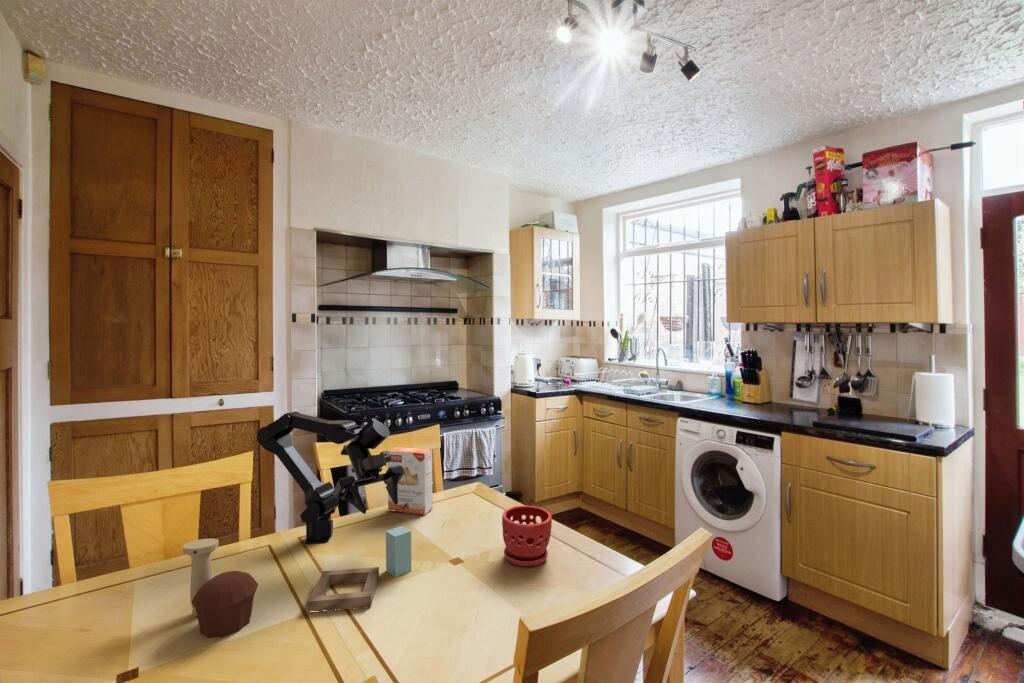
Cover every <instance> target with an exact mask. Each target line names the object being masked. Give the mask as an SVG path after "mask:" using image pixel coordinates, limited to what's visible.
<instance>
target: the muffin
mask: <svg viewBox="0 0 1024 683" xmlns="http://www.w3.org/2000/svg"><path fill="white" fill-rule="evenodd" d="M258 586H259V582H257V580H256V579H255V578H254V576H252V575H251V574H250V573H249V572H246V571H241V570H229V571H226V572H222V573H219V574H217V575H215V576H212V579H210V580H209V581H207V582H206V583H205V584H203V585H202V586H201V588H200V589H199V590H198V592H197V593H196V595H195V597H194V598H193V600H192V602H191V601H190V604H191V603H192V604H193V606H194V607H195V609H196V613H197V622H198V627H199V631H200V635H203V636H205V637H206V639H213V638H225V637H227V636H229V635H232V634H235V633H238V632H240V631H241V630H242V629H243V628H244V627H246V626H248V625H249V624H250V623H251V617H252V611H253V607H254V606H253V604H254V597H255V594H256V592H257V590H258Z"/></svg>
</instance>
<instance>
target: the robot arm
mask: <svg viewBox="0 0 1024 683" xmlns="http://www.w3.org/2000/svg"><path fill="white" fill-rule="evenodd" d="M296 429H297V430H302V431H305V432H308V433H312V434H318V435H321V436H323V437H324V438H325V439H326V440H327V441H329V442H332V443H334V444H336V445H341V444H344V443H348V442H349V443H348V444H347V445H346V444H345V445H343V447H342V450H340V451H341V452H340V456H348V459H349V461H350V464H351V466H352V468H351V472H352V474H353V473H354V474H355V476H356V478H355V476H353V475H349V476H344V477H340V478H339V479H338V480H337V482H336V484H335V486H334V485H333V484H332V483H331V482H330V481H327V482H326V483H324V482H321V481H320V480H319V478H318V477H317V476H316V475H315V474H314V472H313V471H312V469H311V468H310V467H309V465H308V464H307V463H306V461H305V460H304V458H303V457H302V456H301V455H300V454H299V452H298V451H297V450H296V448H295V447H294V445H293V441H292V439H293V438H292V434H291V433H292V432H293V431H295V430H296ZM390 434H391V433H390V430H389V427H388V426H387V425H386V424H384V423H383V422H381V421H378V420H377V418H376V417H375V418H371V419H369V420H368V422H366V424H365V425H364V426H361V425H359V424H357V423H356V422H355V421H353V420H352V419H351V420H345V419H344V420H343V419H339V420H331V419H330V420H329V419H324V418H323V417H322V418H321V417H316V416H313V415H308V414H304V413H301V412H298V411H291V412H285V413H283V415H281V416H280V417H278V419H276V420H274V421H272V422H271V423H269V424H267V425H266V426H263V427H260V428H259V429H258V431H257V434H256V442H257V443H258V444H259V445H260V446H261V447H262V448H263V449H264V451H266V452H269V453H271V454H273V455H275V456H277V458H278V459H279V461H280V462H281V464H283V466H284V467H285V469H286V470H287V472H288V473H289V474H290V476H291V477H292V478H293V479H294V481H295V482H296V484H297V485H298V486H299V487H300V489H301V490H302V491H303V493H304V503H305V506H306V508H305V509H304V511H302V512H301V514H300V519H301V522H302V523H305V531H306V532H305V537H306V538H305V540H304V542H303V543H304V544H317V543H318V544H319V543H327V542H329V541H330V539H331V538H332V536H333V535H334V520H333V519H332V515H333V514H335V513H336V509H337V507H338V506H339V504H340V500H341V501H344V500H345V501H346V502H348V503H349V504H351V505H352V506H353V507H355V508H356V509H357V510H358V511H359V512H361V513H362V514H363V515H366V513H367V510H366V506H365V504H364V502H363V499H362V497H361V496H362V495H360V491H359V488H360V487H363V486H368V485H373V484H376V483H380V482H384V485H386V486H385V489H386V491H387V494H388V493H389V495H390V497H391V499H392V501H393V502H394V504H395V505H397V504H398V491H397V487H398V482H399V481H400V479H401V478H402V476H403V475H404V473H405V471H404V469H403V467H402V466H400V465H398V466H394V467H389V468H388V467H387V469H386V472H385V473H380V472H382V471H383V467H384V466H385V467H386V466H388V462H390V461H391V456H390V453H389V452H388V451H389V450H382V451H381V452H380V453H379V454H375V455H374V454H372V453H371V451H370V449H371V450H376V449H377V447H379V445H381V444H382V443H383V442H384V441H385V440H386V439H387V438H388V437H390Z"/></svg>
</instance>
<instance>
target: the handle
mask: <svg viewBox="0 0 1024 683" xmlns="http://www.w3.org/2000/svg"><path fill="white" fill-rule="evenodd" d="M219 542H220V541H219V539H218V538H202V539H201V538H200V539H196V540H190V541H188V542H187V543H185V544H183V545H182V553H183V554H184V555H187V556H190V558H191V568H190V569H191V570H190V571H191V572H190V585H189V590H190V591H189V592H190V593H189V596H190V597H189V598H190V604H191V609H192V610H191V613H192V616H193V617H197V613H196V609H195V607H194V606H193V604H192V603H191V602H192V600H193V598H194V597H195V595H196V593H197V592H198V590H199V589H200V588H201V586H202V585H203V584H205V583H206V582H207V581H209V580H210V579H212V578H213V575H212V563H211V562H212V561H211V554H212V553H213V552H214V551H215V550H217V548H218V547H219V545H220V544H219Z"/></svg>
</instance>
